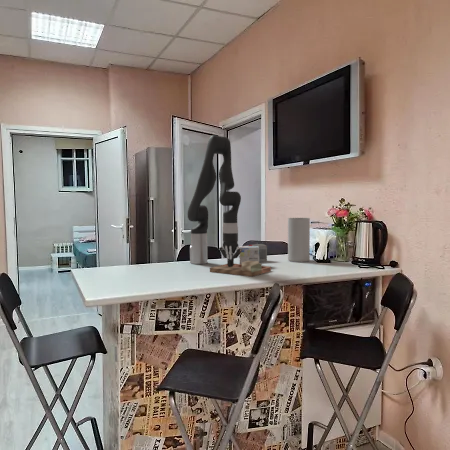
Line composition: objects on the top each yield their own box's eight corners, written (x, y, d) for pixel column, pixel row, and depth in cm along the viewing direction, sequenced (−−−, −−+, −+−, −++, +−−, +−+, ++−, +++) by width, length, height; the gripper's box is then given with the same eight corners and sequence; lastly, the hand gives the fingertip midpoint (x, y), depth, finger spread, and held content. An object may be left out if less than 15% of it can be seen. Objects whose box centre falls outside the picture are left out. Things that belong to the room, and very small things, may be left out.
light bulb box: (259, 265, 220) (259, 245, 219) (259, 267, 213) (259, 247, 213) (240, 265, 221) (239, 245, 220) (239, 267, 214) (239, 247, 214)
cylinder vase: (313, 260, 235) (313, 218, 233) (302, 263, 225) (302, 218, 224) (295, 258, 243) (295, 217, 241) (283, 261, 233) (283, 218, 232)
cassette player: (242, 263, 229) (242, 245, 228) (240, 262, 231) (240, 245, 230) (266, 261, 235) (266, 244, 234) (264, 260, 237) (264, 243, 236)
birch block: (241, 270, 191) (241, 262, 191) (248, 268, 196) (248, 260, 196) (252, 271, 188) (252, 263, 187) (258, 269, 193) (258, 261, 192)
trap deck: (209, 271, 200) (209, 261, 200) (229, 266, 215) (229, 257, 214) (252, 276, 186) (252, 265, 186) (270, 270, 201) (270, 261, 200)
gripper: (215, 232, 198) (215, 266, 199) (237, 233, 190) (237, 269, 191) (223, 230, 204) (223, 264, 205) (245, 232, 196) (245, 266, 198)
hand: (230, 266), depth 198 cm, fingers closed
